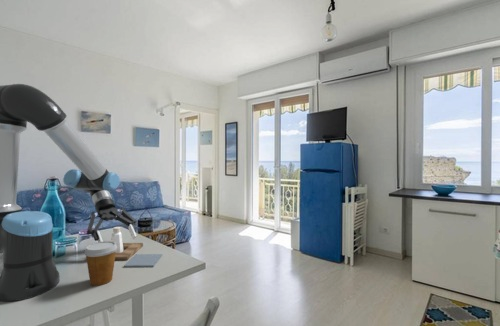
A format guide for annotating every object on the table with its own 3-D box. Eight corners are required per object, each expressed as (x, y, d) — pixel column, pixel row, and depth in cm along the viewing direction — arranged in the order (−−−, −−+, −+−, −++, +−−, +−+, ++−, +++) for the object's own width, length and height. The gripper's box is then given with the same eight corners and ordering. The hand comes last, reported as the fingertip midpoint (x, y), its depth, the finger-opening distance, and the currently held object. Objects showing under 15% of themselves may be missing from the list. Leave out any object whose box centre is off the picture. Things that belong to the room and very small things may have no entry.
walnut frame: (127, 260, 101) (127, 256, 101) (86, 260, 100) (86, 256, 100) (142, 246, 117) (142, 242, 117) (107, 246, 116) (107, 243, 116)
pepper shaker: (114, 256, 105) (113, 230, 105) (107, 253, 108) (106, 227, 108) (126, 252, 109) (126, 226, 109) (119, 249, 112) (119, 225, 112)
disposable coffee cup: (103, 272, 90) (103, 239, 90) (124, 277, 87) (123, 242, 87) (77, 285, 81) (76, 248, 81) (99, 290, 78) (98, 252, 78)
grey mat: (153, 266, 95) (153, 265, 95) (123, 267, 94) (123, 265, 94) (162, 255, 106) (162, 254, 106) (135, 255, 105) (135, 254, 105)
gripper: (127, 203, 128) (143, 239, 119) (69, 212, 108) (83, 255, 99) (133, 194, 124) (149, 230, 115) (74, 201, 104) (88, 245, 96)
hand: (119, 241), depth 107 cm, fingers open, 13 cm apart
